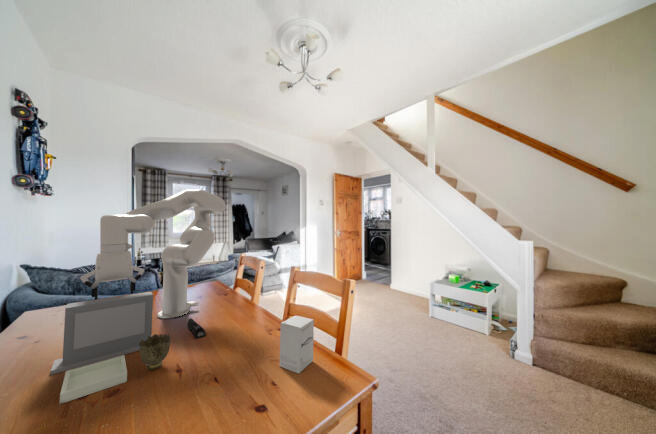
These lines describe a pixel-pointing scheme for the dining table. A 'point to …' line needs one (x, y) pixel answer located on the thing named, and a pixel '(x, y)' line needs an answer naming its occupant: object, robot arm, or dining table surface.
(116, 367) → the parts tray
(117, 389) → the dining table surface
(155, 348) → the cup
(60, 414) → the dining table surface
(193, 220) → the robot arm
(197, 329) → the electric trimmer
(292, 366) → the supplement box
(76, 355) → the grey sign holder
